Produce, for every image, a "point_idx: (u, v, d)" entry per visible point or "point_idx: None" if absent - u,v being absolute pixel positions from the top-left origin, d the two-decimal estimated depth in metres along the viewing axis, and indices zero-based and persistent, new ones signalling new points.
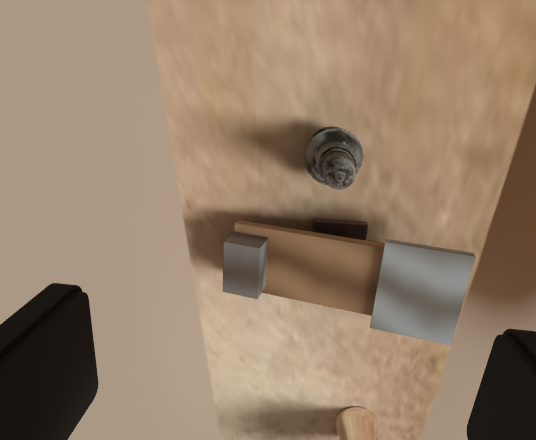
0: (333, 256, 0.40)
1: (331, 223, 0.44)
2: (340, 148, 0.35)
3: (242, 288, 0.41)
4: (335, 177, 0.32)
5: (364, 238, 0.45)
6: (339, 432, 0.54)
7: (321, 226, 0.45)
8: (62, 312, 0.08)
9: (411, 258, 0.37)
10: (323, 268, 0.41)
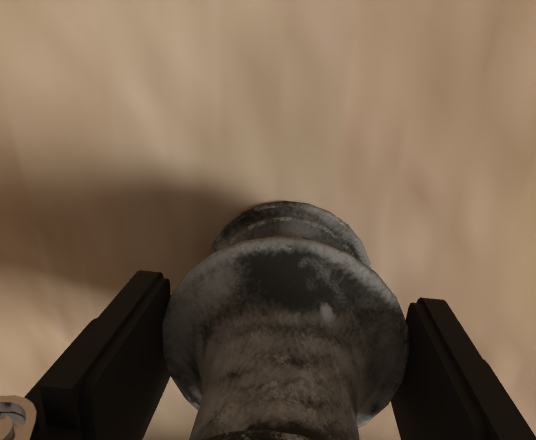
0: None
1: None
2: None
3: None
4: None
5: None
6: None
7: None
8: (155, 295, 0.08)
9: None
10: None
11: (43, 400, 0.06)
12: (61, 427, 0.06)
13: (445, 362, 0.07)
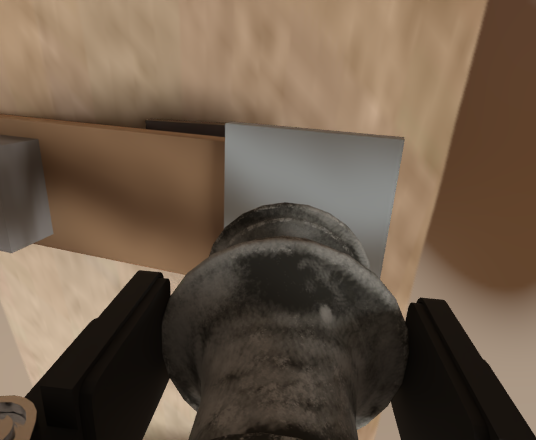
0: (147, 168, 0.21)
1: (173, 123, 0.25)
2: None
3: None
4: None
5: None
6: None
7: None
8: (155, 295, 0.08)
9: (278, 155, 0.18)
10: (135, 194, 0.22)
11: (43, 400, 0.06)
12: (61, 427, 0.06)
13: (445, 362, 0.07)
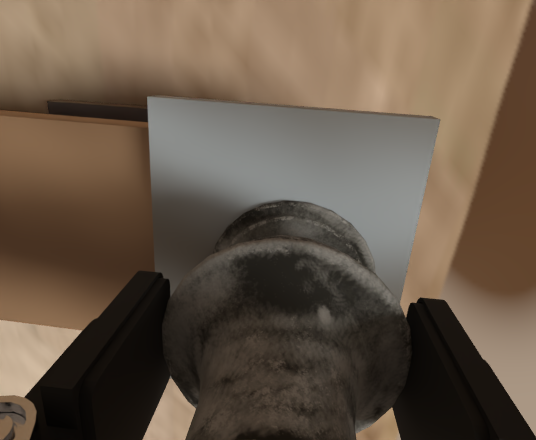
0: (21, 174, 0.13)
1: (88, 106, 0.17)
2: None
3: None
4: None
5: None
6: None
7: None
8: (155, 295, 0.08)
9: (238, 149, 0.11)
10: (5, 216, 0.14)
11: (43, 400, 0.06)
12: (61, 427, 0.06)
13: (445, 362, 0.07)
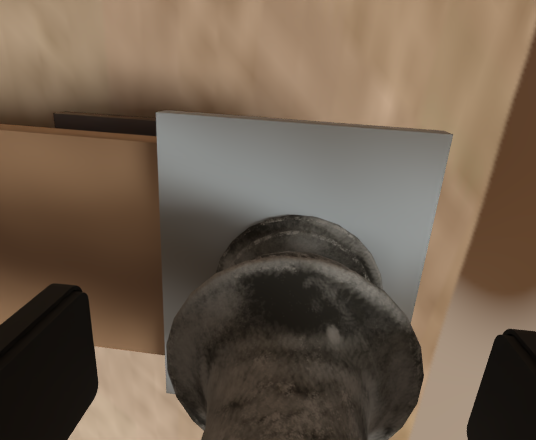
0: (28, 188, 0.13)
1: (94, 119, 0.17)
2: None
3: None
4: None
5: None
6: None
7: (71, 128, 0.17)
8: (62, 312, 0.08)
9: (247, 164, 0.11)
10: (11, 230, 0.14)
11: None
12: None
13: None
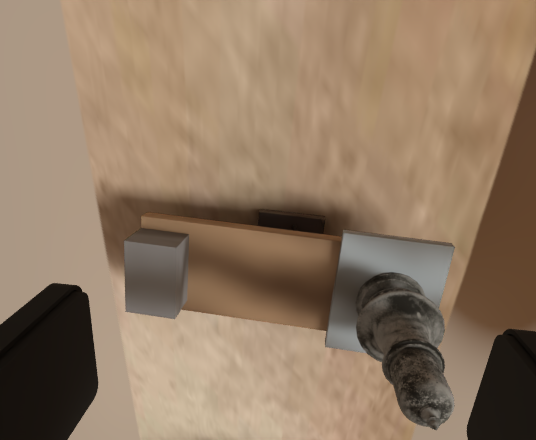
0: (276, 255, 0.31)
1: (279, 215, 0.35)
2: (420, 343, 0.22)
3: (152, 305, 0.30)
4: (422, 416, 0.19)
5: None
6: None
7: (267, 219, 0.35)
8: (62, 312, 0.08)
9: (376, 253, 0.29)
10: (263, 272, 0.31)
11: None
12: None
13: None
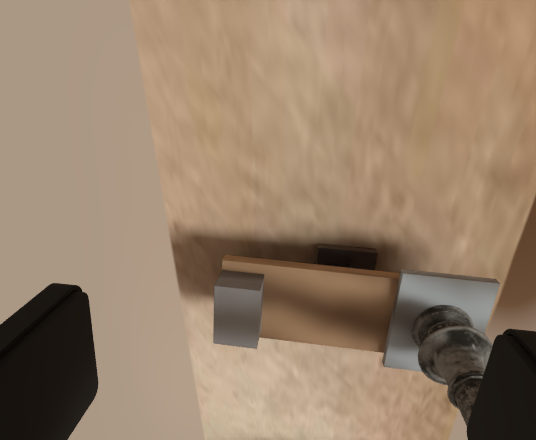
0: (341, 291, 0.35)
1: (336, 250, 0.40)
2: (481, 375, 0.27)
3: (237, 338, 0.35)
4: None
5: (373, 267, 0.40)
6: None
7: (325, 253, 0.40)
8: (62, 312, 0.08)
9: (431, 289, 0.33)
10: (329, 305, 0.36)
11: None
12: None
13: None
